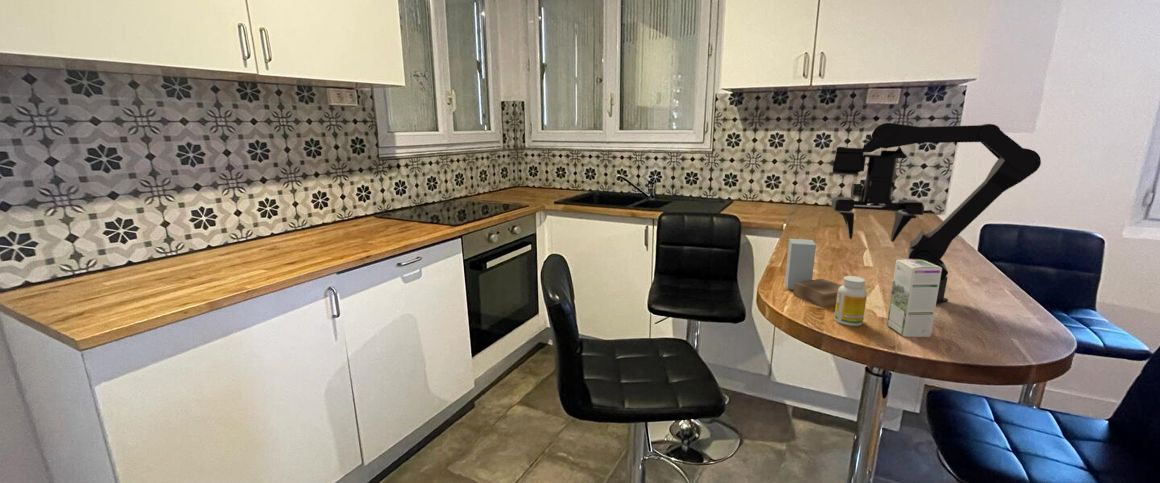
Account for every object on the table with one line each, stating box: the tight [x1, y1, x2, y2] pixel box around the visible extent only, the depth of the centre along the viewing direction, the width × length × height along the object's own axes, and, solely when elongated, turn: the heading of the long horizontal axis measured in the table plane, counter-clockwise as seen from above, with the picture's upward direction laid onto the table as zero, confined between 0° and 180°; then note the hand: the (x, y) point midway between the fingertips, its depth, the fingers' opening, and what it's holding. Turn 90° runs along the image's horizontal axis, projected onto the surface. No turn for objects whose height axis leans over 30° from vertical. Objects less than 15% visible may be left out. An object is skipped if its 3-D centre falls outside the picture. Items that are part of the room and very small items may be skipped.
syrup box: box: [886, 258, 942, 338], centre depth 97 cm, size 6×6×14 cm
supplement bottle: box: [833, 275, 868, 327], centre depth 103 cm, size 5×5×10 cm
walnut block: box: [792, 278, 843, 308], centre depth 117 cm, size 9×9×4 cm
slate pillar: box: [784, 238, 817, 291], centre depth 125 cm, size 6×6×12 cm
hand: (870, 240), depth 121 cm, fingers open, 9 cm apart
